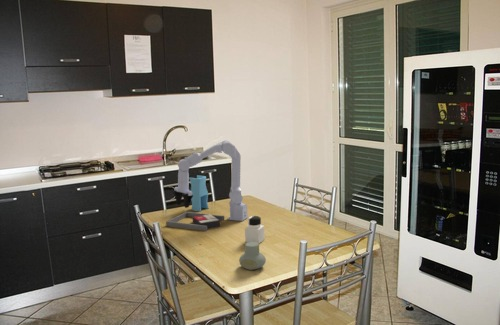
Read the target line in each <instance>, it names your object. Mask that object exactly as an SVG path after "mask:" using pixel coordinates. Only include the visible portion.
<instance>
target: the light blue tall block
mask: <svg viewBox="0 0 500 325" xmlns="http://www.w3.org/2000/svg"><path fill="white" fill-rule="evenodd" d="M206 181H207V176H205V175H196V178H195V177H189V182H190V186H191V187H190V191H191V192H192V195H193V197H192V199H191V201H190V202H191V211H195V212H199V213H200V212H202V209H206V210H207V209H210V208H209V204H208V198H209V192H208V189H207V186H206V184H207V183H206Z"/></svg>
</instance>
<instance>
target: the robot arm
mask: <svg viewBox="0 0 500 325" xmlns="http://www.w3.org/2000/svg"><path fill="white" fill-rule="evenodd" d="M222 152H223V153H224V154H226V155H228V156H229V157H230V158H231V183H230V184H231V186H230V191H229V193H228V198H229V199H230V201H229V203H228V204H229V217H227V220H230V221H236V222H237V221H239V222H243V221H245V220H246V219H248V218H249V217H248V206H247V204H246V203H243V195H242V190H241V159H242V158H241V154H240V152H239V151H238V149H237V147H236V146H235V145H234V144H232V142H230V141H228V140H222V141H221V142H218V143H216V144H214V145H212V146H210V147H209V148H207V149H205V150H202V151H201V152H193V153H192V154H191V155H189V156H185V157H184V158H183V159H180V160H179V161H178V163H177V166H178V173H177V186H175V187H174V191H173V193H172V194H173V195H174V198H175V202H176V206H177V205H179V206H180V205H181V204H182V198H183V203H184V208H186V209H188V208H189V207H190V204H191V202H192V201H191V199H192V197H193V195H192V192H191V189H189V185H190V184H189V182H190V179H189V178H190V177H189V176H190V174H189V170H190V168H192V167H194V166H197V165H198V164H200V163H202V161H203V159H205V158H206V157H208V156H209V157H210V156H211V155H213V154H215V153H217V154H218V153H219V154H221V153H222Z"/></svg>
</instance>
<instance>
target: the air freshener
mask: <svg viewBox="0 0 500 325" xmlns="http://www.w3.org/2000/svg"><path fill="white" fill-rule="evenodd" d="M266 259H267V258H266V256H265V255H264V254H263V253H262V252H260V243H259V244H258V243H257V242H248V243H247V242H245V244H244V253H243V254H241V255H240V256H239V260H238V261H239V262H238V263H239V265H240V266H241V267H243V268H244V269H246V270H249V271H254V270H257V269H261V268H262V267H264V265H265V264H266V262H267V260H266Z"/></svg>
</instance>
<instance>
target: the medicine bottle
mask: <svg viewBox="0 0 500 325" xmlns="http://www.w3.org/2000/svg"><path fill="white" fill-rule="evenodd" d="M261 220H262V219H261V216H257V215H252V216H249V217H248V218H247V223H248V224H247V227H245V228H244V237H245V240H244V242H245V243H248V242H257V243H258V244H259V245H260V244H261V243H262V242H264V241H265V225H262V221H261Z"/></svg>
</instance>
